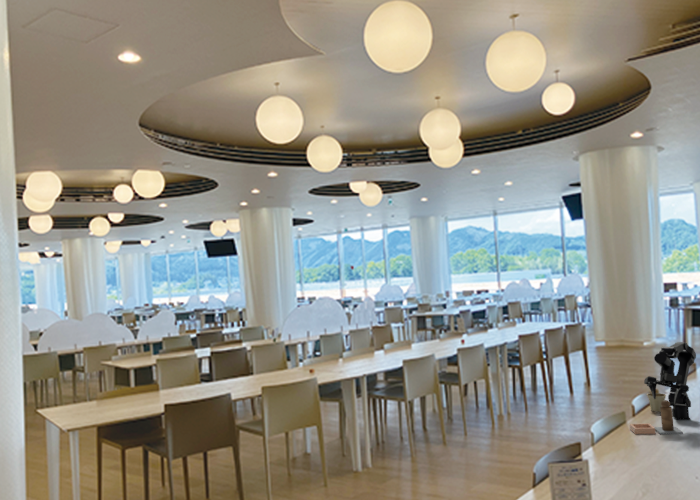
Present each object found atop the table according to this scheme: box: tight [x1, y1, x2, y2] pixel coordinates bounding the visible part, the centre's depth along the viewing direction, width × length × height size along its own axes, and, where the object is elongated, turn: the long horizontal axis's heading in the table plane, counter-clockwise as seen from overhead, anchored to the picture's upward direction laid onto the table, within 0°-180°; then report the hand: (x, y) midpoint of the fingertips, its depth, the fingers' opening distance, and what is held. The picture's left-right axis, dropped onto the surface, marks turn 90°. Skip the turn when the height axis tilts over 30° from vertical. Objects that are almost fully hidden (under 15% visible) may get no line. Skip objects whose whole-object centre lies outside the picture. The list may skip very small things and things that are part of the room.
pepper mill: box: [660, 399, 675, 431], centre depth 281 cm, size 5×5×14 cm
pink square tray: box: [629, 423, 657, 435], centre depth 284 cm, size 9×9×2 cm
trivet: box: [653, 426, 684, 435], centre depth 281 cm, size 10×10×1 cm
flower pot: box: [646, 392, 667, 413], centre depth 322 cm, size 9×9×9 cm
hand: (664, 401), depth 289 cm, fingers open, 9 cm apart
